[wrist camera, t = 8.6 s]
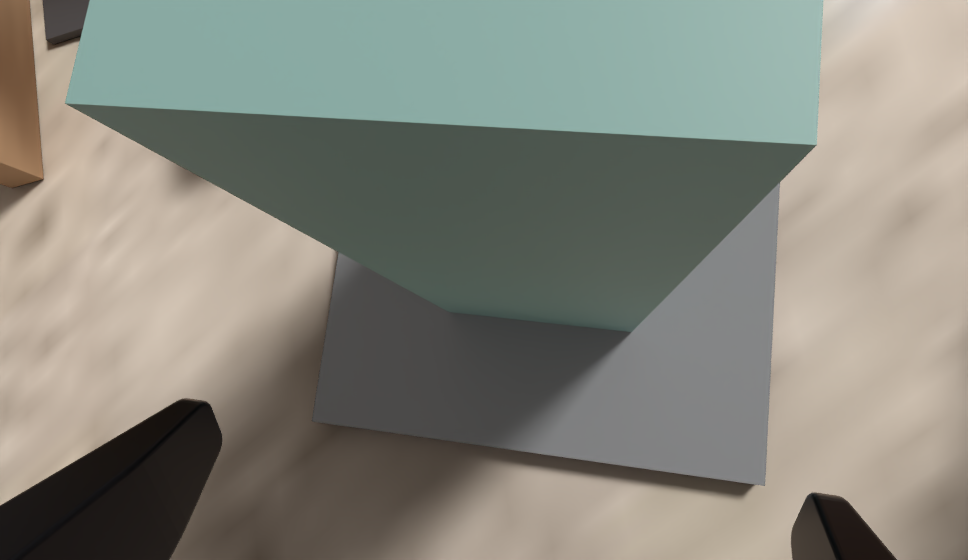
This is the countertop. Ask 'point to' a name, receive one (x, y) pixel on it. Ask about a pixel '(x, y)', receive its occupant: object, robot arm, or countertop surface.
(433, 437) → the mat
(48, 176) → the countertop surface
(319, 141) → the block
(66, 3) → the chute
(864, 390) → the countertop surface
